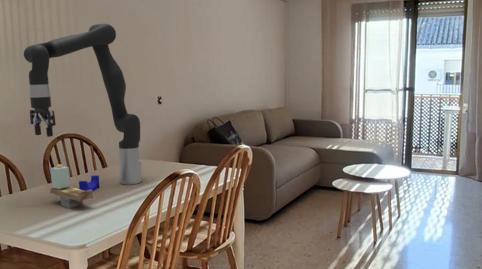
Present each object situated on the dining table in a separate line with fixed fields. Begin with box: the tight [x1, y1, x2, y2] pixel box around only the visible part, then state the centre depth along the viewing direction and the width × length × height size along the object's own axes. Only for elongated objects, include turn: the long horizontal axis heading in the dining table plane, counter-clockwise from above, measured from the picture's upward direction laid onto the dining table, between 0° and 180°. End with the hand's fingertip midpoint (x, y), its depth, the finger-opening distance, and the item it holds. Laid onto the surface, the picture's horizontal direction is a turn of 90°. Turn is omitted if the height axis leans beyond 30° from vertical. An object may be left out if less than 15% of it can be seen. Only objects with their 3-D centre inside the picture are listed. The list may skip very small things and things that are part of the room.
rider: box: [50, 164, 71, 189], centre depth 188 cm, size 5×5×9 cm
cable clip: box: [78, 174, 100, 192], centre depth 207 cm, size 12×4×6 cm, turn 169°
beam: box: [49, 186, 94, 209], centre depth 185 cm, size 6×20×7 cm, turn 53°
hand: (44, 135), depth 187 cm, fingers open, 8 cm apart
